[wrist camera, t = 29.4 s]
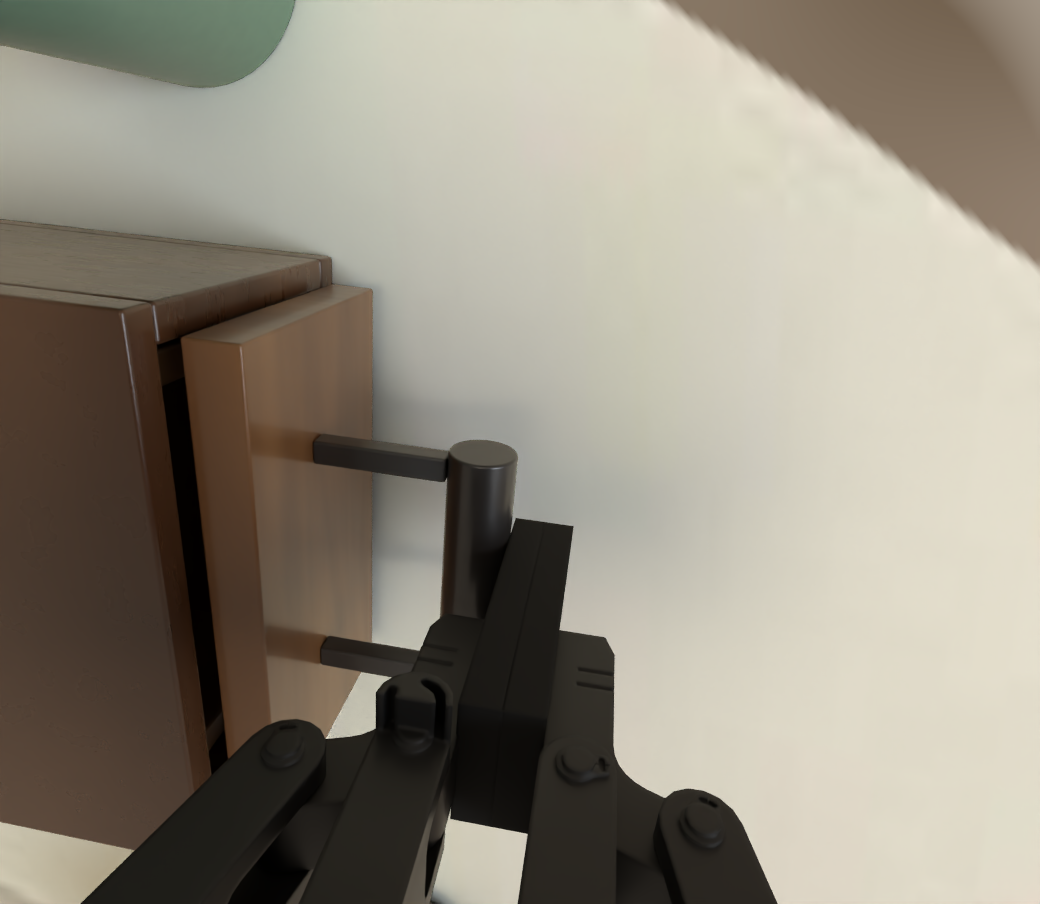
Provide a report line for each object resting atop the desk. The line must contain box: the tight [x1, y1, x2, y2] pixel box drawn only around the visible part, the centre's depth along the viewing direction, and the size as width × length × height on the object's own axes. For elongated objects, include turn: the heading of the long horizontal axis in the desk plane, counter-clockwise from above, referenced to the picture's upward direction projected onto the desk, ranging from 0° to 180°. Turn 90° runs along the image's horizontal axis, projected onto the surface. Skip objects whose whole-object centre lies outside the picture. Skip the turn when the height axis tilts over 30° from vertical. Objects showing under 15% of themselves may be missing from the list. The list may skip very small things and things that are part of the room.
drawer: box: [157, 284, 518, 759], centre depth 18 cm, size 21×12×7 cm, turn 85°
